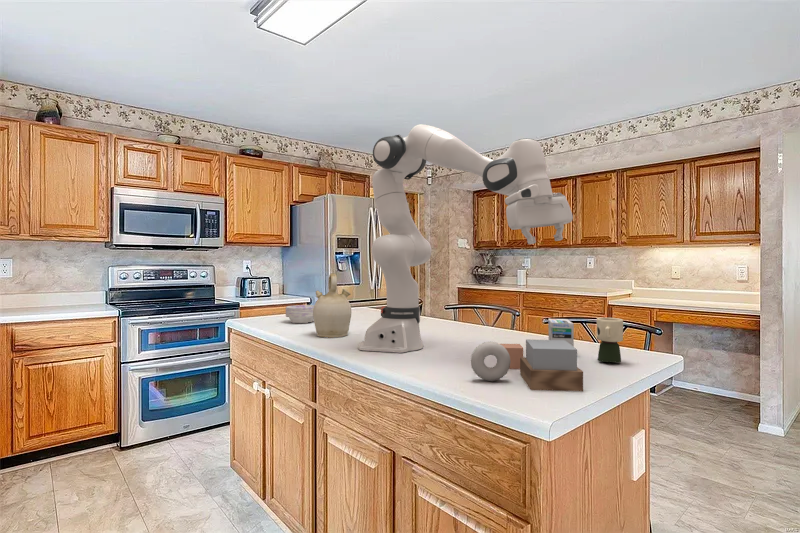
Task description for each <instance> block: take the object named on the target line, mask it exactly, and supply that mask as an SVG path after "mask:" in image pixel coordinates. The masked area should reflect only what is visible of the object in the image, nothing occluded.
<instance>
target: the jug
mask: <svg viewBox="0 0 800 533" xmlns="http://www.w3.org/2000/svg"><path fill="white" fill-rule="evenodd" d="M327 281H328V283H327V284H328V286H327V289H328V292H327V293H326V294H323V292H320V291H319V290H316V291H315V297H316V298H317V300H316V302H315V303H314V304H313V305H314V308H313V317H314V320H313V322H314V327H315V331H316V336H317V337H318V336H319V338H324V337H328V338H327V339H331V338H332V339H333V338H334V337H336V338H343V336H344V337H347V336H348V334H349V330H350V325H351V319H352V305H351V304H350V301H349V300H348V297H349V296H351V295H352V294H351V292H350V291H348V290H346V289H344V288H343V289H342V291H341V294H339V293H338V292H337V289H338V288H337V287H338V277H337V274H336V273H335V272H331V273H330V274H329V276H328V280H327Z"/></svg>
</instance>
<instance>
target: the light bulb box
mask: <svg viewBox="0 0 800 533" xmlns="http://www.w3.org/2000/svg"><path fill="white" fill-rule="evenodd" d="M547 321H548V325H547V326H548V340H565V341H567V342H568V343H569V344H571V345H572V346H573V347H574V345H575V344H574V337H575V336H574V331H575V326H574V323H573V322H572V321H570V320H569V319H568V318H548V320H547ZM574 348H575V347H574Z"/></svg>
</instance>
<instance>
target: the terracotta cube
mask: <svg viewBox="0 0 800 533" xmlns="http://www.w3.org/2000/svg"><path fill="white" fill-rule="evenodd" d="M499 344H500V345H502V346H503V347H504V348H505V349H506V350H507V351H508V353H509V355H510V361H511V363H510V368H509V370H520V357H523V358H524V347H523V346H522V345H521V344H520V343H499Z"/></svg>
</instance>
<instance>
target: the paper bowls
mask: <svg viewBox="0 0 800 533" xmlns="http://www.w3.org/2000/svg"><path fill="white" fill-rule="evenodd" d="M314 305H315V304H299V305H298V304H297V305H287V306H286V307H285V317H286V318H288V319H289V321H290V322H291V323H293V324H309V323H308V322H311V323H312V322H314V317H313V308H314Z"/></svg>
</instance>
